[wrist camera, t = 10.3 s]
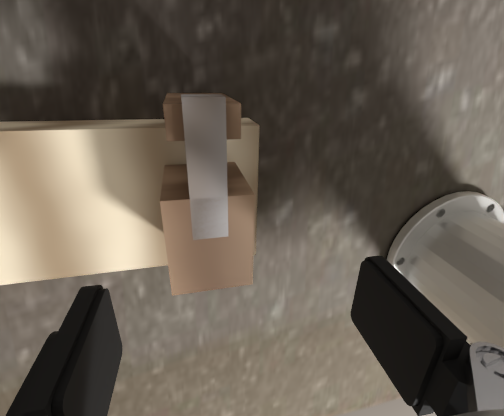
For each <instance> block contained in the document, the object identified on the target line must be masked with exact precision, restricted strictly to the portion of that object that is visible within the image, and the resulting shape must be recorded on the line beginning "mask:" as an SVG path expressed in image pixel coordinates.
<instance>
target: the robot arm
mask: <svg viewBox="0 0 504 416" xmlns="http://www.w3.org/2000/svg"><path fill="white" fill-rule="evenodd" d="M351 318H352V321H353V323H354V324H355V326H356V327H357V329H358V330H359V332H360V334H361V335H362V337H363V338H364V340H365V341H366V343H367V344H368V346H369V347H370V349H371V350H372V352H373V354H374V355H375V357H376V358H377V360H378V361H379V363H380V364H381V366H382V367H383V369H384V370H385V372H386V374H387V375H388V377H389V378H390V380H391V381H392V383H393V384H394V386H395V387H396V389H397V390H398V392H399V393H400V395H401V397H402V398H403V400H404V401H405V402H406V404H408V405H409V406H412V407H413V409H414V410H415V412H416V413H417V415H418V416H422V415H426V414H431V413H433V412H435V413H436V415H437V416H504V212H503V209H502V207H501V206H500V205H499V203H498V202H497V201H495V200H494V199H492V198H491V197H488V196H486V195H483V194H481V193H478V192H471V191H464V192H456V193H452V194H449V195H446V196H443V197H441V198H439V199H437V200H435V201H433V202H431V203H430V204H428V205H427V206H425V207H424V208H422V209H421V210H420V211H419V212H417V213H416V214H415V215H414V216H413V217H412V218H411V219H410V220H409V221H408V222H407V223H406V224H405V225H404V226H403V228H402V229H401V230H400V232H399V233H398V235H397V236H396V238H395V240H394V242H393V244H392V246H391V248H390V250H389V253H388V257H387V260H386V259H385V258H384V257H383V256H372V257H367V258H366V259H365V260H364V261H363V262H362V263H361V266H360V271H359V276H358V281H357V285H356V290H355V295H354V300H353V304H352V309H351ZM467 339H468V340H469V341H470V342H471V343H472V345H471V346H470V345H469V344H468V343H467V342H466V340H467ZM121 356H122V343H121V339H120V334H119V330H118V326H117V322H116V318H115V314H114V310H113V306H112V302H111V298H110V294H109V290H108V289H103V287H102V286H101V285H94V286H85V287H81V289H80V290H79V292H78V294H77V296H76V298H75V300H74V302H73V304H72V306H71V308H70V310H69V311H68V313H67V315H66V317H65V319H64V321H63V323H62V325H61V327H60V329H59V331H56V332H53V333H51V334H50V335H49V337H48V338H47V340H46V342H45V344H44V345H43V347H42V349H41V351H40V353H39V355H38V357H37V358H36V360H35V362H34V364H33V366H32V368H31V369H30V371H29V373H28V375H27V377H26V379H25V381H24V382H23V384H22V386H21V388H20V390H19V392H18V394H17V395H16V397H15V399H14V401H13V403H12V405H11V406H10V408H9V410H8V412H7V414H6V416H107V414H108V410H109V405H110V401H111V397H112V393H113V389H114V385H115V381H116V377H117V373H118V369H119V365H120V360H121Z"/></svg>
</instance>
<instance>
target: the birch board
mask: <svg viewBox="0 0 504 416" xmlns="http://www.w3.org/2000/svg"><path fill="white" fill-rule="evenodd" d="M258 159H259V125H258V124H256V123H255V122H254V121H252V120H251V119H249V118H241V139H229V140H227V162H235V163H236V164H237V166H238V168H239V169H240V171H241V173H242V174H243V176H244V177H245V179H246V181H247V182H248V184H249V186H250V187H251V189H252V191H253V192H254V194H255V207H254V247H253V255H256V228H257V194H258ZM179 164H187V162H186V150H185V141H167V139H166V130H165V120H164V119H137V120H74V121H12V122H0V285H5V284H13V283H22V282H30V281H39V280H47V279H55V278H64V277H72V276H81V275H89V274H97V273H106V272H114V271H123V270H131V269H139V268H148V267H156V266H165V265H168V260H167V253H166V245H165V237H164V230H163V222H162V215H161V207H160V196H161V188H162V181H163V173H164V166H165V165H179Z"/></svg>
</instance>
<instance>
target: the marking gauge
mask: <svg viewBox="0 0 504 416" xmlns="http://www.w3.org/2000/svg"><path fill="white" fill-rule="evenodd" d="M163 111H164V120H165V130H166V139H167V141H185V150H186V162H187V164H179V165H165V166H164V173H163V181H162V188H161V196H160V207H161V215H162V222H163V230H164V237H165V245H166V253H167V260H168V268H169V276H170V283H171V291H172V295H180V294H187V293H194V292H201V291H208V290H215V289H222V288H229V287H236V286H243V285H251V284H253V247H254V207H255V194H254V192H253V191H252V189H251V187H250V186H249V184H248V182H247V181H246V179H245V177H244V176H243V174H242V173H241V171H240V169H239V168H238V166H237V164H236V163H235V162H227V140H229V139H241V103H239V102H237V101H235V100H234V99H232V98H230V97H228V96H227V95H225V94H223V93H167V95H166V97H165V100H164V102H163Z"/></svg>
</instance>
